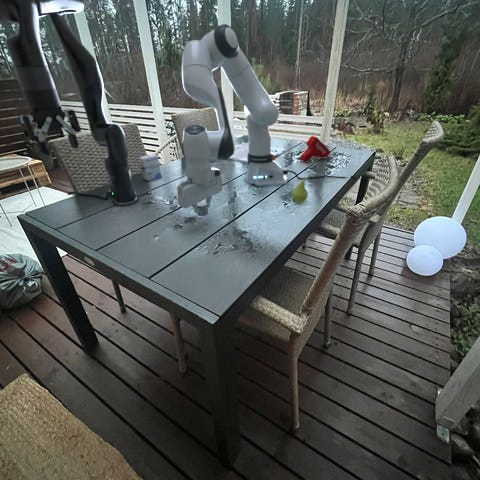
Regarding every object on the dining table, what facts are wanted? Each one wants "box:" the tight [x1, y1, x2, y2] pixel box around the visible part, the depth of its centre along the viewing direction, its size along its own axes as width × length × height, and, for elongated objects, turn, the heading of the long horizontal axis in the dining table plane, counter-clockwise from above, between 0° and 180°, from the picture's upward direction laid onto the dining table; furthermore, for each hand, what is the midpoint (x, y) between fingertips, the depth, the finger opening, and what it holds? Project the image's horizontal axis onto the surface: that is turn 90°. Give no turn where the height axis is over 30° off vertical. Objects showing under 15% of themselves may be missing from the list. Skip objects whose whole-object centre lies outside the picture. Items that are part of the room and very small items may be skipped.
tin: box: [196, 201, 209, 217], centre depth 104 cm, size 4×4×4 cm
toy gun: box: [300, 135, 332, 164], centre depth 172 cm, size 18×4×15 cm
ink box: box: [138, 154, 162, 182], centre depth 145 cm, size 8×5×12 cm, turn 135°
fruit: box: [291, 174, 311, 204], centre depth 118 cm, size 7×8×12 cm
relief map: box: [228, 141, 280, 164], centre depth 184 cm, size 27×35×5 cm
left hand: (61, 151), depth 78 cm, fingers open, 8 cm apart
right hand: (202, 209), depth 104 cm, fingers closed on tin, 4 cm apart
